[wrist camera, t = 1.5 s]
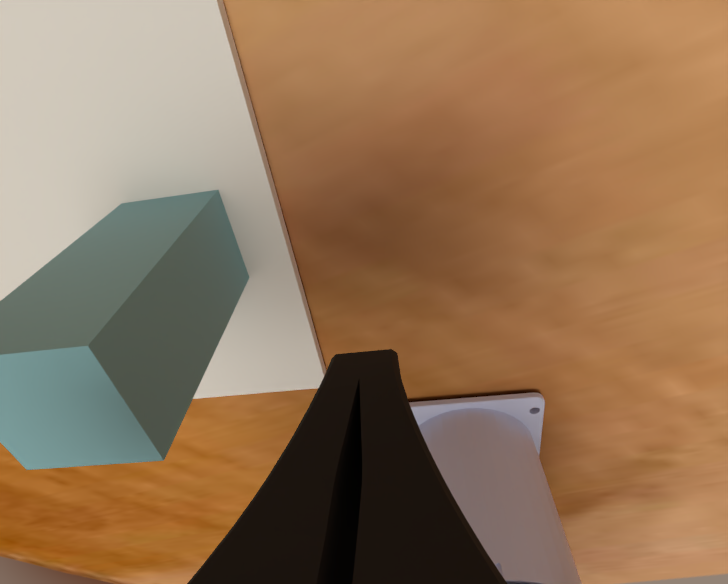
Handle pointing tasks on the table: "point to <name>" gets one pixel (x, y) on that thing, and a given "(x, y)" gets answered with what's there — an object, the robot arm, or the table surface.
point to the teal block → (118, 334)
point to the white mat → (147, 159)
